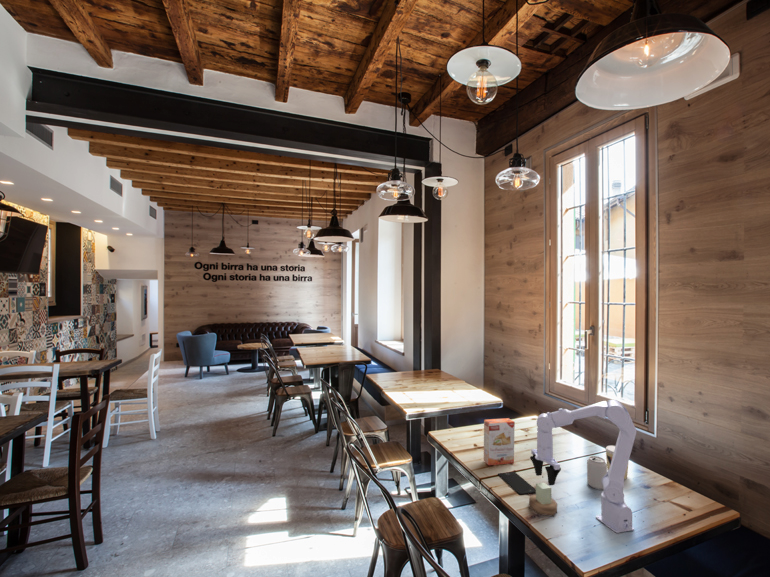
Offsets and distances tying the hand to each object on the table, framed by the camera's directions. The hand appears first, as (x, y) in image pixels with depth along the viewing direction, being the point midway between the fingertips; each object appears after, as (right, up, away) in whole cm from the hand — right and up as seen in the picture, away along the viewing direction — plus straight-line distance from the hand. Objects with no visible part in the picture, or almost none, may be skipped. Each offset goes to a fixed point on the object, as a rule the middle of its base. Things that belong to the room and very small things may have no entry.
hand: (545, 479), depth 145 cm
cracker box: (-7, -11, +38) cm, 40 cm away
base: (-1, -10, -1) cm, 10 cm away
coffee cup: (+45, -11, +25) cm, 53 cm away
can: (+30, -11, +15) cm, 35 cm away
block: (-1, -8, -1) cm, 8 cm away
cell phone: (-5, -11, +17) cm, 21 cm away
